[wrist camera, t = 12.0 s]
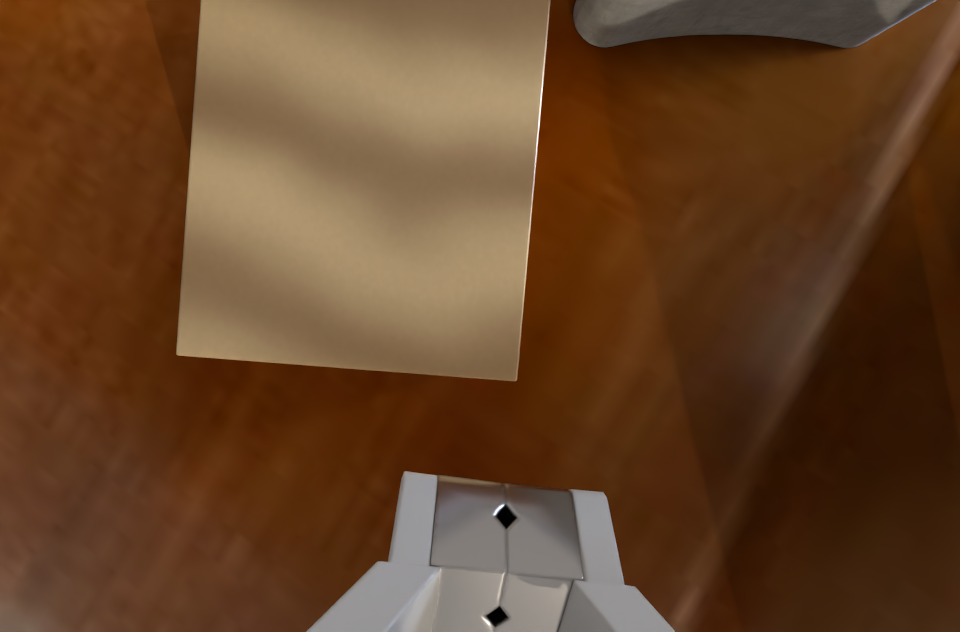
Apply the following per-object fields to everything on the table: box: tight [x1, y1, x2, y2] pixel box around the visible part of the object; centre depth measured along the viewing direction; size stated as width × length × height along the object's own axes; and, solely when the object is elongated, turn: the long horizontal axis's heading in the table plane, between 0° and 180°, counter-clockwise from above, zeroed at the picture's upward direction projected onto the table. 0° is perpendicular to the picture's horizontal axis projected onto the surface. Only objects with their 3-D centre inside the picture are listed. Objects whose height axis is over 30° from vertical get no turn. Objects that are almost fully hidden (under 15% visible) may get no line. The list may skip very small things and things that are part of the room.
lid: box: [176, 0, 551, 381], centre depth 25 cm, size 16×13×1 cm
